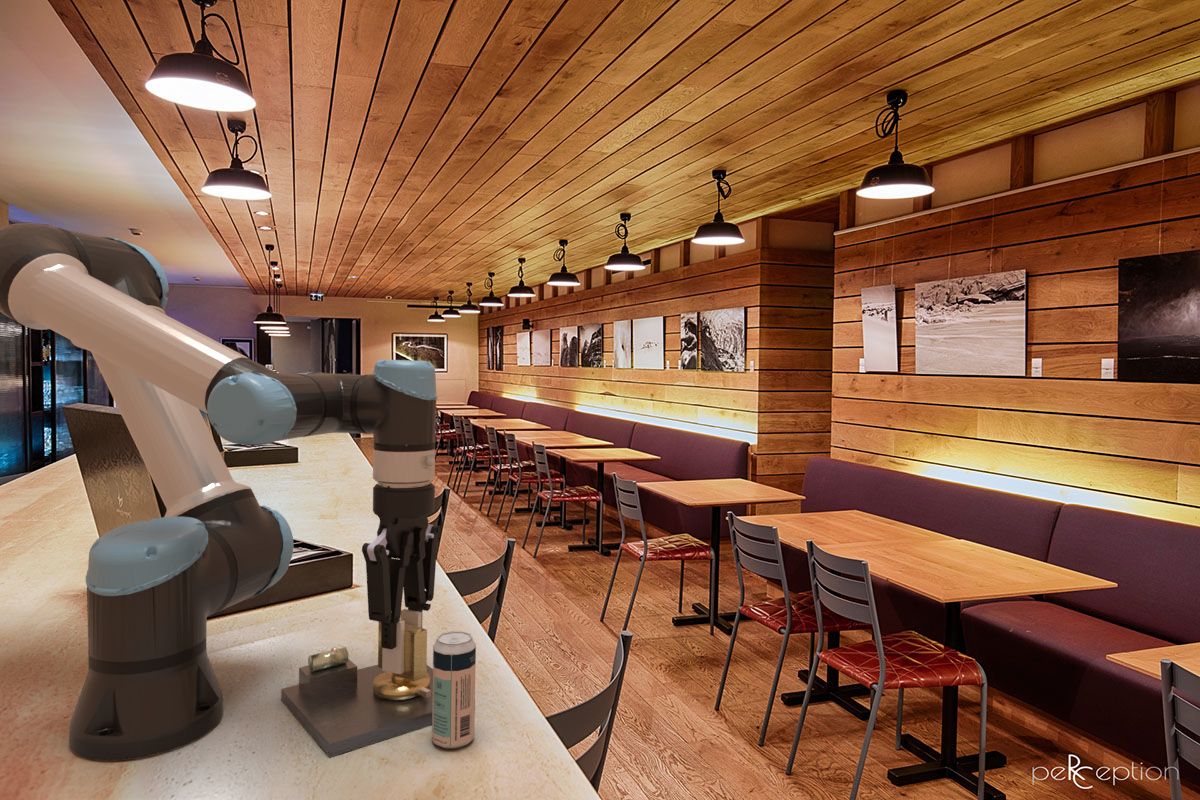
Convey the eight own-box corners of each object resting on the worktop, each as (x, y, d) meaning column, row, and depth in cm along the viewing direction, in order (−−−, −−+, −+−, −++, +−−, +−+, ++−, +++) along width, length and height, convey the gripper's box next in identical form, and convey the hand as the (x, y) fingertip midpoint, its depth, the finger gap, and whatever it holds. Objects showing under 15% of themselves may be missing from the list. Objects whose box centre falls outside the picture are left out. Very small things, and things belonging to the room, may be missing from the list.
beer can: (476, 730, 86) (478, 630, 86) (471, 751, 81) (473, 645, 81) (435, 730, 86) (437, 629, 85) (427, 751, 81) (429, 645, 81)
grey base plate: (329, 757, 79) (330, 701, 79) (281, 700, 92) (281, 651, 92) (474, 710, 91) (475, 661, 91) (413, 665, 104) (414, 622, 104)
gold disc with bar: (405, 709, 87) (406, 641, 87) (361, 689, 92) (362, 625, 92) (450, 689, 93) (451, 625, 93) (405, 671, 98) (406, 610, 98)
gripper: (389, 494, 83) (386, 697, 84) (463, 476, 98) (460, 648, 99) (336, 489, 86) (334, 685, 87) (416, 472, 101) (414, 640, 102)
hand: (401, 665), depth 93 cm, fingers closed on gold disc with bar, 3 cm apart
